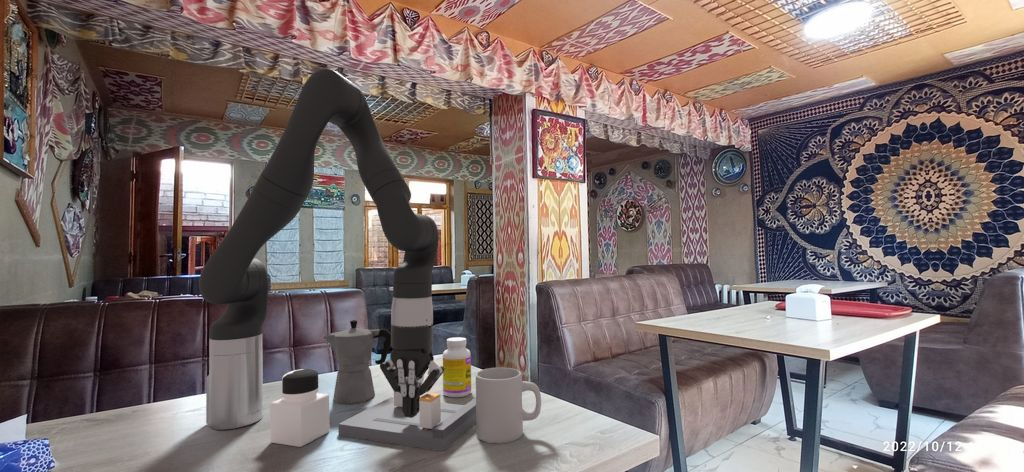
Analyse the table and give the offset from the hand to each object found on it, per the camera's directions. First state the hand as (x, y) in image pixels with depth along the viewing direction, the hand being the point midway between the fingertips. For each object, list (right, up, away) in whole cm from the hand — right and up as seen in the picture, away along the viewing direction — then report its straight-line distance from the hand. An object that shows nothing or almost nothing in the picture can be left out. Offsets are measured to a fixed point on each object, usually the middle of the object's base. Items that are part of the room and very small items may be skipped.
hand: (411, 415), depth 82 cm
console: (0, -4, +4) cm, 6 cm away
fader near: (+4, -1, -2) cm, 4 cm away
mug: (+18, -3, -1) cm, 18 cm away
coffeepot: (-17, -5, +22) cm, 29 cm away
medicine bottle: (-20, -4, 0) cm, 21 cm away
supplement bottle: (+6, -5, +23) cm, 24 cm away
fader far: (-4, -2, +10) cm, 11 cm away
